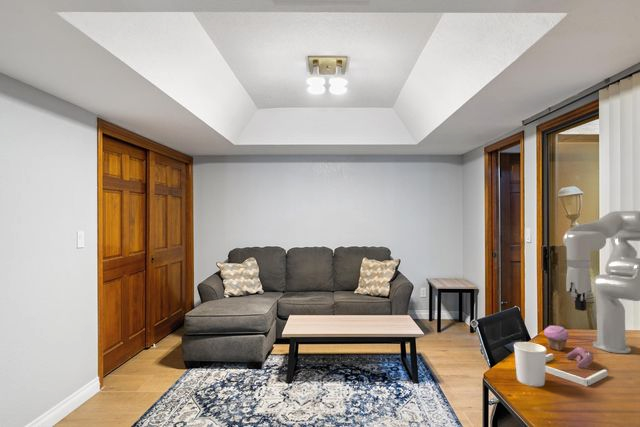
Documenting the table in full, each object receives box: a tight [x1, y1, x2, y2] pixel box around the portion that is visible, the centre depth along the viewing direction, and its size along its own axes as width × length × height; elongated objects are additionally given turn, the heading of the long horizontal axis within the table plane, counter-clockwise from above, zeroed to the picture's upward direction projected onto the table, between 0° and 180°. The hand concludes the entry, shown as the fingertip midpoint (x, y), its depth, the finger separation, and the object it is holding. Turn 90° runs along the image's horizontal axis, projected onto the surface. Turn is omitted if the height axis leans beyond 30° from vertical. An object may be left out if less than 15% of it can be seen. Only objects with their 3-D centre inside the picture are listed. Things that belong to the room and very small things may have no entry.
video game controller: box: [565, 346, 594, 369], centre depth 138 cm, size 10×5×7 cm, turn 169°
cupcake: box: [543, 325, 570, 352], centre depth 153 cm, size 9×9×10 cm
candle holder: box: [513, 341, 547, 388], centre depth 124 cm, size 10×10×12 cm
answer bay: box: [545, 353, 608, 387], centre depth 131 cm, size 15×19×2 cm
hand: (580, 309), depth 142 cm, fingers closed
